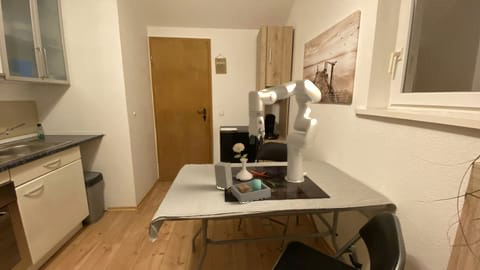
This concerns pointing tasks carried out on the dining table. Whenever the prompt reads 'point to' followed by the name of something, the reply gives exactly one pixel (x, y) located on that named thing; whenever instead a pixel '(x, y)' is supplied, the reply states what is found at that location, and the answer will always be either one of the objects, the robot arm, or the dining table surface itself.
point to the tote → (251, 196)
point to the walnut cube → (244, 189)
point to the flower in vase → (244, 173)
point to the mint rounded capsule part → (256, 185)
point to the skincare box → (223, 175)
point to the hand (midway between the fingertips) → (256, 145)
